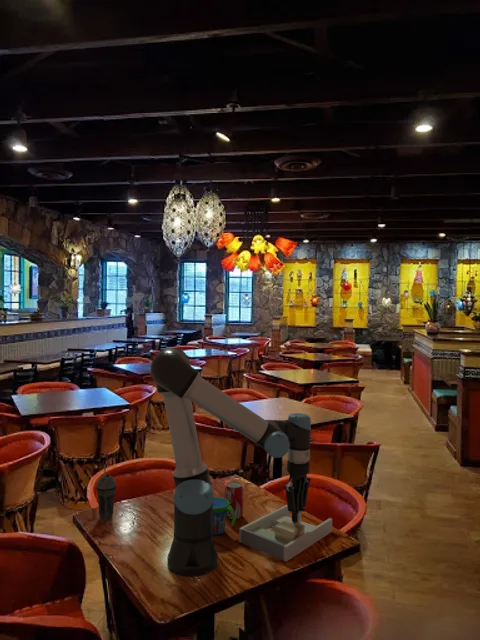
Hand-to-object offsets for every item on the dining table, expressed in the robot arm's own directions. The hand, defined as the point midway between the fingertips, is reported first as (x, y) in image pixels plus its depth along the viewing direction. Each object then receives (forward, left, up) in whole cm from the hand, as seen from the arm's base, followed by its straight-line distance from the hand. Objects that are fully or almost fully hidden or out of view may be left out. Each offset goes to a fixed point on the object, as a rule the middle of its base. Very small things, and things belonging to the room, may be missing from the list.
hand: (296, 530), depth 165 cm
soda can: (0, +28, -4) cm, 28 cm away
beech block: (-4, 0, -1) cm, 4 cm away
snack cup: (-14, +25, -4) cm, 29 cm away
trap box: (0, +4, -4) cm, 5 cm away
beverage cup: (-33, +61, -4) cm, 69 cm away
